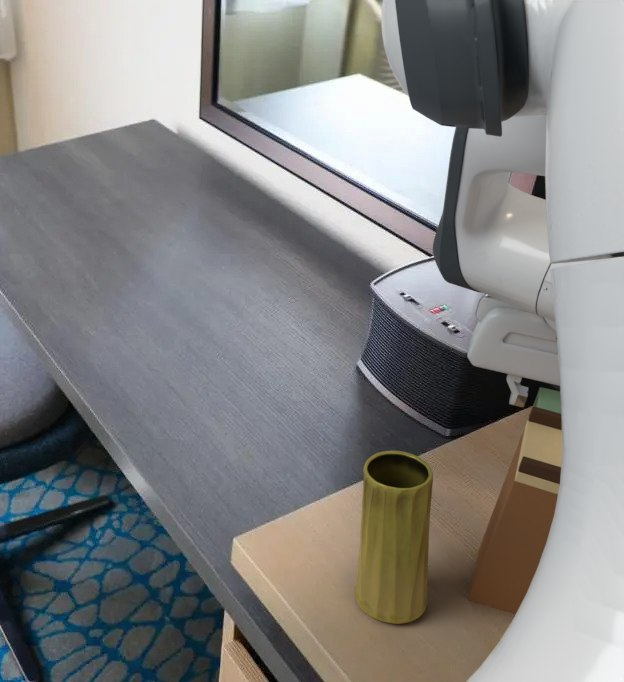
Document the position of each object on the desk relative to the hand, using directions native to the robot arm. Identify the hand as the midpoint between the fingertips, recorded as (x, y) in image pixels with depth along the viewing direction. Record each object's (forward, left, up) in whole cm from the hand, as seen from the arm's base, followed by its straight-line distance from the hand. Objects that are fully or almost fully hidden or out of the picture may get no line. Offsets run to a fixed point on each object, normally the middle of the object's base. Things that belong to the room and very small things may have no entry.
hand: (554, 411), depth 85 cm
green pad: (0, 0, -2) cm, 2 cm away
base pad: (-14, +20, -2) cm, 25 cm away
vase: (-12, +30, -2) cm, 32 cm away
